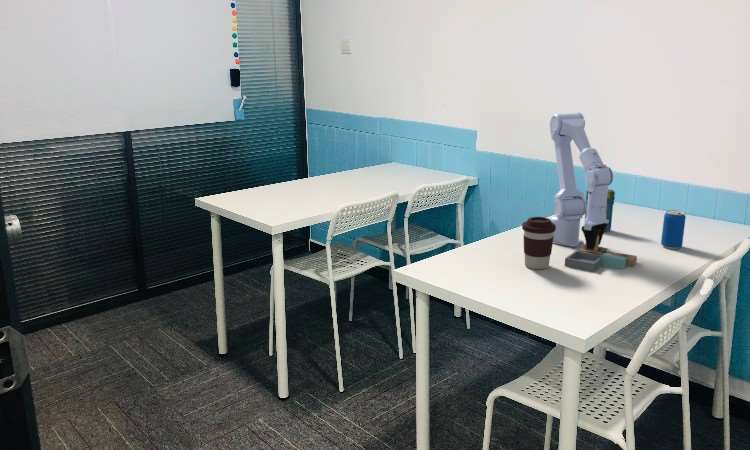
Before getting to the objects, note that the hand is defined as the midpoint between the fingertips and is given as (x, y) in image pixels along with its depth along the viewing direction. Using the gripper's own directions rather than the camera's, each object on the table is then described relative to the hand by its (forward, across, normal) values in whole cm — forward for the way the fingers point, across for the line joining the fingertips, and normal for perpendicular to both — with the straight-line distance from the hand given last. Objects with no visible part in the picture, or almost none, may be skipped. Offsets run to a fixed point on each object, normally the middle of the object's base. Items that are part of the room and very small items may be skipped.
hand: (593, 246), depth 209 cm
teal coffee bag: (+4, +30, +9) cm, 32 cm away
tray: (+3, -9, 0) cm, 10 cm away
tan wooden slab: (+4, 0, -9) cm, 10 cm away
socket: (+3, 0, 0) cm, 3 cm away
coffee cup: (+4, -18, +11) cm, 22 cm away
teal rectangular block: (+3, -5, -8) cm, 10 cm away
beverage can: (+4, +24, -18) cm, 31 cm away
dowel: (+3, 0, 0) cm, 3 cm away
